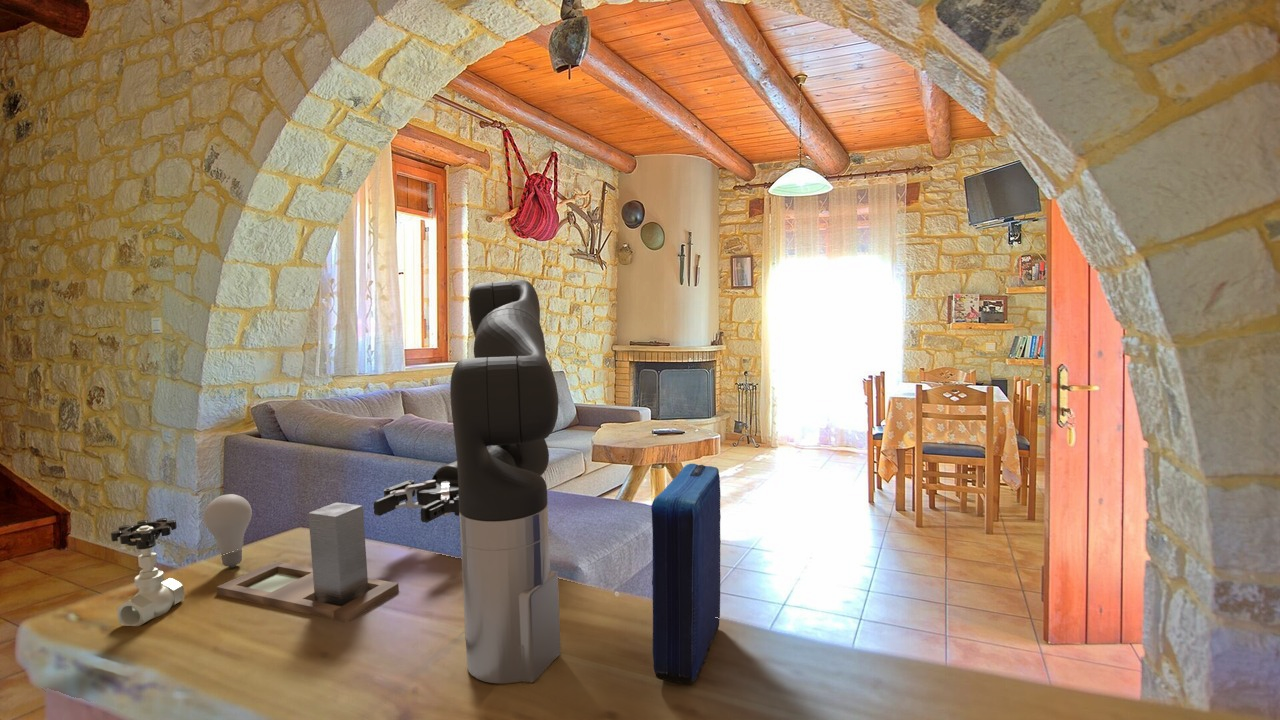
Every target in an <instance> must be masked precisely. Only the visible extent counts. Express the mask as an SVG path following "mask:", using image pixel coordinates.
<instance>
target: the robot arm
mask: <svg viewBox="0 0 1280 720" xmlns="http://www.w3.org/2000/svg"><path fill="white" fill-rule="evenodd" d="M540 306H541V305H540V300H539V296H538V293H537V291H536V289H535V287H534V285H532V283H531V282H529V281H527V280H524V279H512V280H500V281H499V280H498V281H490V282H489V281H487V282H480V283H476V284H474V285H472V287H471V288H470V291H469V295H468V307H469V317H470V321H471V327H472V331H473V334H474V343H473V355H474V356H473V357H468V358H462V359H461V360H458V361H457V362H456V363H455V365H454V366H453V369H452V373H451V376H450V387H449V388H450V391H449V393H450V397H449V398H450V407H451V418H452V419H451V420H452V425H453V435H454V444H455V453H456V460H454V461H453V462H450V463H448V464H446V465H443V466H441V467H439V468H438V469H437V470H436V471H435V473H434V474H433V476H432V478H431V479H429V480H424V481H423V482H421V483H416V484H415V480H413V479H409V480H406V481H403V482H401V483H398V484H395V485H393V486H390V487H386V488H385V489H383V497H381V498H379V499H377V500H375V501H374V502H373V513H374V515H375V516H377V517H378V516H379V517H380V516H383V515H385V514H387V513H389V512H391V511H394V510H396V509H400V508H405V507H407V508H408V509H411V510H412V509H417V508H418V509H419V508H420V521H421V522H422V523H426V524H427V523H429V522H432V521H433V520H435V519H437V518H439V517H441V516H444V517H448V516H450V515H451V513H454V516H457V517H459V529H460V530H459V531H460V535H459V536H460V552H461V553H460V554H461V555H460V556H461V572H462V573H461V574H462V592H463V593H462V594H463V595H462V596H463V615H464V632H465V650H466V651H465V653H466V666H467V667H466V668H467V671H468V672H469V673H470V675H471V676H473V677H474V678H476V679H477V680H479V681H482V682H486V683H490V684H511V683H512V684H513V683H517V682H518V683H519V682H528V683H534V682H535V681H536V680H537V679H538V678H539V677H541V674H543V673H544V672H545V671H546V670H547V668H548V667H549V666H550V665H552V663H553V662H555V660H556V659H557V658H558V657H559V656H560V655H561V652H562V650H561V627H560V623H561V622H560V598H559V596H560V595H559V575H558V572H557V571H555V570H551V566H550V538H549V508H548V507H549V506H548V487H547V486H548V485H547V483H546V480H545V479H544V478H543V477H542V475H543V474H544V473H545V471H546V470H547V468H548V466H549V460H550V454H549V453H550V451H549V448H548V443H547V441H546V439H547V438H548V437H549V436H550V435H551V434H552V432H553V431H554V430H555V427H556V424H557V421H558V420H557V419H558V415H559V394H558V388H557V383H556V378H555V375H554V371H553V369H552V366H551V364H550V362H549V359H548V358H547V354H546V342H545V336H544V332H543V329H542V326H541V323H540V320H541V307H540ZM487 447H488V448H487ZM415 496H416V501H415V502H413V501H414V500H413V497H415Z"/></svg>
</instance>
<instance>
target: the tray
mask: <svg viewBox="0 0 1280 720" xmlns="http://www.w3.org/2000/svg"><path fill="white" fill-rule="evenodd" d="M399 586H400V585H399V582H393V581H388V580H382V579H376V578H371V577H368V592H367V593H365V594H363V595H361V596H359V597H358V598H356V599H354V600H352V601H351V602H349V603H347V604H345V605H344V606H342V607H341V606H336V605H331V604H326V603H321V602H316V601H315V594H314V581H313V568H312V567H309V566H303V565H298V564H293V563H287V562H283V561H277V560H275V561H272V562H270V563H267V564H265V565H263V566H261V567H259V568H256V569H254V570H252V571H249V572H247V573H245V574H242V575H240V576H238V577H236V578H233V579H231V580H228V581H226V582H224V583H222V584H219V585H217V586H216V595H219V596H223V597H227V598H233V599H237V600H243V601H246V602H250V603H251V602H252V603H256V604H261V605H263V606H264V605H265V606H271V607H274V608H279V609H284V610H288V611H293V612H298V613H301V614H307V615H311V616H315V617H321V618H326V619H329V620H334V621H341V622H344V623H348V622H349V621H351V620H352V619H354V618H356V617H359V616H360V615H361V614H363V613H364V612H366V611H368V610H369V609H371V608H373V607H374V606H376V605H378V604H379V603H381V602H383V601H384V600H386V599H388V598H389V597H391V596H393V595H394V594H397V593H398V592H399V591H400V589H399Z"/></svg>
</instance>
